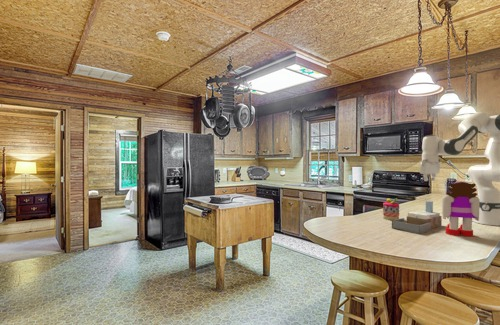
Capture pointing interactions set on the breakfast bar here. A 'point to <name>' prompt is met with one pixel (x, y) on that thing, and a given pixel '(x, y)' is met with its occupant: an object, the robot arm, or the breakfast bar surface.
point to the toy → (460, 208)
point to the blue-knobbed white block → (429, 210)
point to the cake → (391, 210)
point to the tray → (410, 226)
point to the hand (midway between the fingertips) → (429, 180)
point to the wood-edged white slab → (425, 221)
